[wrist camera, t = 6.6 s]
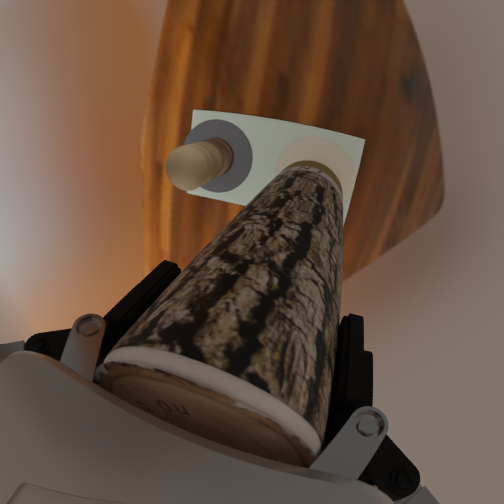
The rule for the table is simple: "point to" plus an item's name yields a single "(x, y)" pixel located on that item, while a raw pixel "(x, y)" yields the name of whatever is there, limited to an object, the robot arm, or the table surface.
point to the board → (257, 151)
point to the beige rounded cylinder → (199, 163)
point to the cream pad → (320, 159)
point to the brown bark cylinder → (248, 327)
